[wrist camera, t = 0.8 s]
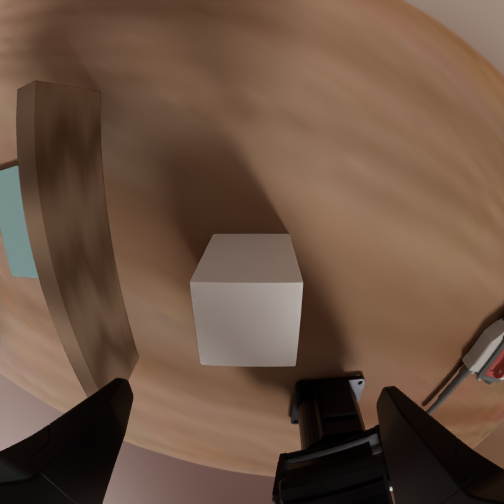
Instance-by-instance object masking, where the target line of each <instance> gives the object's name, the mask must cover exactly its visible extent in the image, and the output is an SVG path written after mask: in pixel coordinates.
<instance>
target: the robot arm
mask: <svg viewBox="0 0 504 504" xmlns="http://www.w3.org/2000/svg"><path fill="white" fill-rule="evenodd" d="M301 385H302V386H301ZM364 385H365V378H364V377H363V376H357V377H347V378H335V379H320V380H301V381H298V382H297V383H296V384H295V392H294V399H293V406H292V414H291V423H292V424H299V429H300V439H301V450H299V451H295V452H291V453H282V454H280V456H279V462H278V465H277V470H276V476H275V482H274V487H273V493H272V494H273V497H272V501H273V503H274V504H393V501H392V497H391V491H393V494H394V499H395V503H396V504H504V469H503V468H501V467H499V466H497V465H496V464H494V463H493V462H491V461H489V460H488V459H486V458H484V457H483V456H481V455H480V454H478V453H477V452H475V451H474V450H472V449H471V448H470V447H469V446H467V445H466V444H465V443H463V442H462V441H461V440H460V439H458V438H457V437H456V436H455V435H453V434H452V433H451V432H450V431H449V430H447V429H446V428H445V427H444V426H442V425H441V424H440V423H439V422H438V421H436V420H435V419H434V418H433V417H432V416H430V415H429V414H428V413H427V412H425V411H424V410H423V409H422V408H421V407H419V406H418V405H417V404H416V403H415V402H413V401H412V400H411V399H410V398H409V397H407V396H406V395H405V394H404V393H403V392H401V391H400V390H399V389H398V388H397V387H395V386H389V387H384V388H383V389H382V392H381V394H380V396H379V399H378V401H377V413H378V420H379V424H378V425H376V426H375V427H373V428H371V429H368V430H366V429H365V425H364V422H363V419H362V415H361V412H360V408H359V405H358V402H359V399H360V396H361V393H362V390H363V388H364ZM132 403H133V392H132V390H131V387H130V384H129V381H128V380H127V379H124V378H115V379H114V380H112V381H111V382H109V383H108V384H107V385H105V386H104V387H102V388H101V389H99V390H98V391H97V392H95V393H94V394H92V395H91V396H89V397H88V398H87V399H85V400H84V401H82V402H81V403H79V404H78V405H77V406H75V407H74V408H72V409H71V410H69V411H68V412H66V413H65V414H63V415H62V416H61V417H59V418H58V419H56V420H55V421H53V422H52V423H50V425H47V426H46V427H44V428H43V429H41V430H40V431H38V432H36V433H35V434H33V435H32V436H30V437H28V438H26V439H24V440H22V441H21V442H18V443H16V444H15V445H12V446H10V447H9V448H6V449H4V450H2V451H0V504H102V503H103V500H104V497H105V493H106V490H107V487H108V484H109V481H110V477H111V474H112V471H113V468H114V465H115V462H116V459H117V456H118V453H119V451H120V447H121V445H122V442H123V439H124V436H125V433H126V429H127V424H128V420H129V415H130V411H131V407H132Z"/></svg>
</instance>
